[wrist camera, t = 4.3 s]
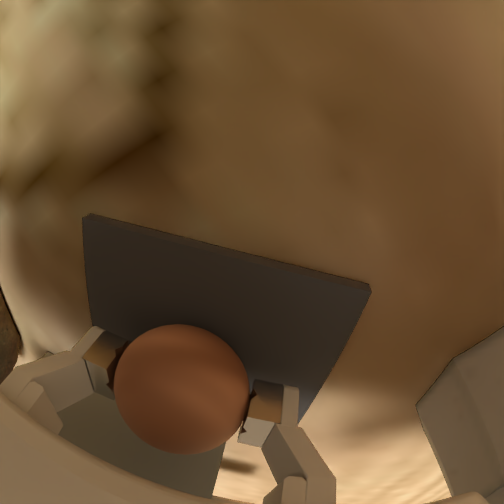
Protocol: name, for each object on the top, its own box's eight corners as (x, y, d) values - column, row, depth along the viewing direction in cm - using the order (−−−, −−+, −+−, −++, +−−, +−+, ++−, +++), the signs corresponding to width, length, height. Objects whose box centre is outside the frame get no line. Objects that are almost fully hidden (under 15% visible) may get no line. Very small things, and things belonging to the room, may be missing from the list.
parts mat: (368, 284, 9) (371, 292, 8) (296, 418, 12) (295, 426, 12) (90, 213, 9) (82, 217, 9) (105, 362, 13) (101, 368, 12)
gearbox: (284, 436, 13) (258, 609, 3) (243, 491, 18) (222, 587, 9) (47, 351, 14) (-40, 463, 4) (86, 435, 19) (41, 515, 9)
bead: (271, 318, 9) (251, 434, 5) (245, 395, 11) (224, 485, 7) (146, 283, 9) (73, 370, 5) (148, 365, 11) (104, 443, 7)
